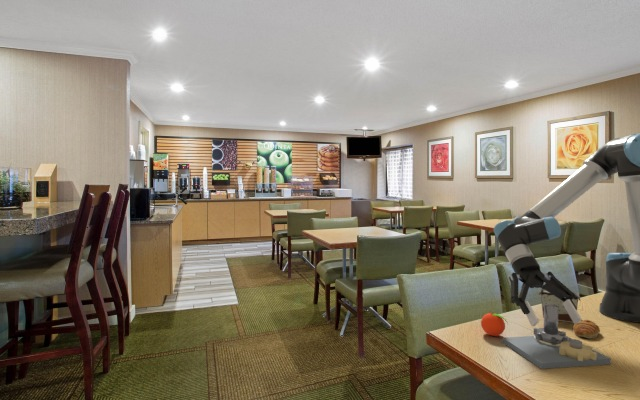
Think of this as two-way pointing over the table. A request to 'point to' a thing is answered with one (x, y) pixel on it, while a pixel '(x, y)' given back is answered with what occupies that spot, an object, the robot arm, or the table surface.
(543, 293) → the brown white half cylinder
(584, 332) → the pastry
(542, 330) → the gear
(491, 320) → the clementine
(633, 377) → the table surface
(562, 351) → the gear board
